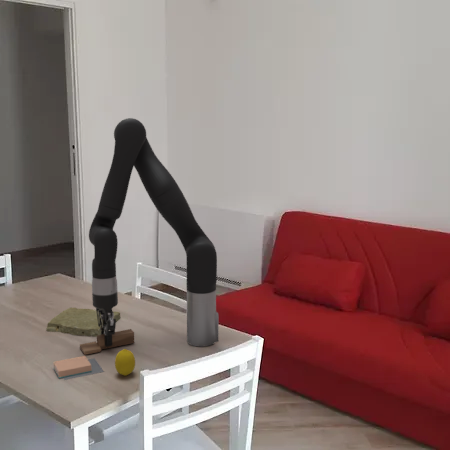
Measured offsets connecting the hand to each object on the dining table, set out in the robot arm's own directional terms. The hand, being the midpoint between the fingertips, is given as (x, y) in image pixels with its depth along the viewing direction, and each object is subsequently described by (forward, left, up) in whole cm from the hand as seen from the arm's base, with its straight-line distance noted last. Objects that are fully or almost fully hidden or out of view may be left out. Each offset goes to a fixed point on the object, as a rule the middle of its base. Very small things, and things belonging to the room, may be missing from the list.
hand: (106, 343), depth 179 cm
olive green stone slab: (+2, -23, -2) cm, 23 cm away
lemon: (+1, +21, -2) cm, 21 cm away
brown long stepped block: (0, 0, -1) cm, 1 cm away
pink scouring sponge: (+9, +11, 0) cm, 14 cm away
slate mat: (+11, +11, -2) cm, 16 cm away
